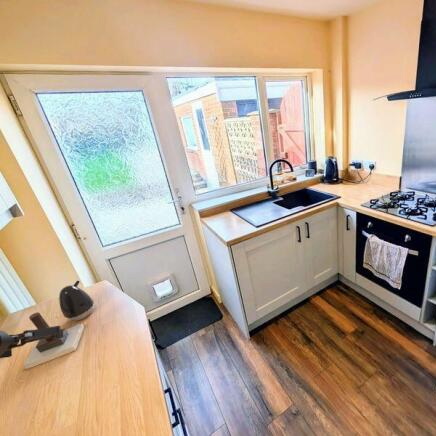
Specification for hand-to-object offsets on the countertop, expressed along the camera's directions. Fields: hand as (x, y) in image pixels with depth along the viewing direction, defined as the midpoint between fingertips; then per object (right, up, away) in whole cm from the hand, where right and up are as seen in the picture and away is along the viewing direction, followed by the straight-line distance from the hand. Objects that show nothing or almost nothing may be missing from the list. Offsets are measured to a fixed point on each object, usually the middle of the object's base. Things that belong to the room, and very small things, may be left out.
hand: (36, 342), depth 82 cm
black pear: (-4, 0, +23) cm, 24 cm away
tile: (-2, -6, +9) cm, 11 cm away
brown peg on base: (-2, -4, +8) cm, 10 cm away
